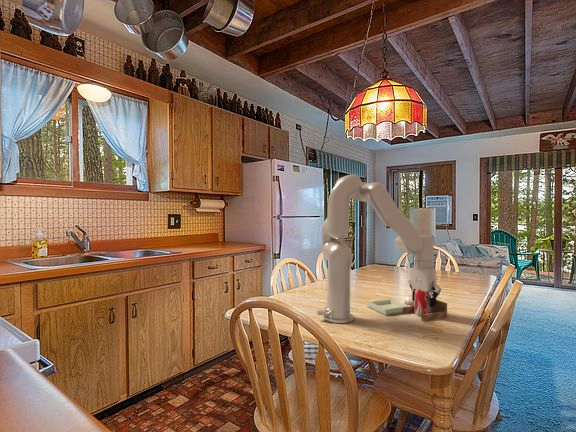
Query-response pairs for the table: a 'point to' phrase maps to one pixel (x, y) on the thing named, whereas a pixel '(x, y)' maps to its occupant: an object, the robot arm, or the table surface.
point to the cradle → (437, 311)
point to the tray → (386, 306)
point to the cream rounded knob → (409, 300)
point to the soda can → (422, 302)
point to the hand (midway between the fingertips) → (423, 303)
